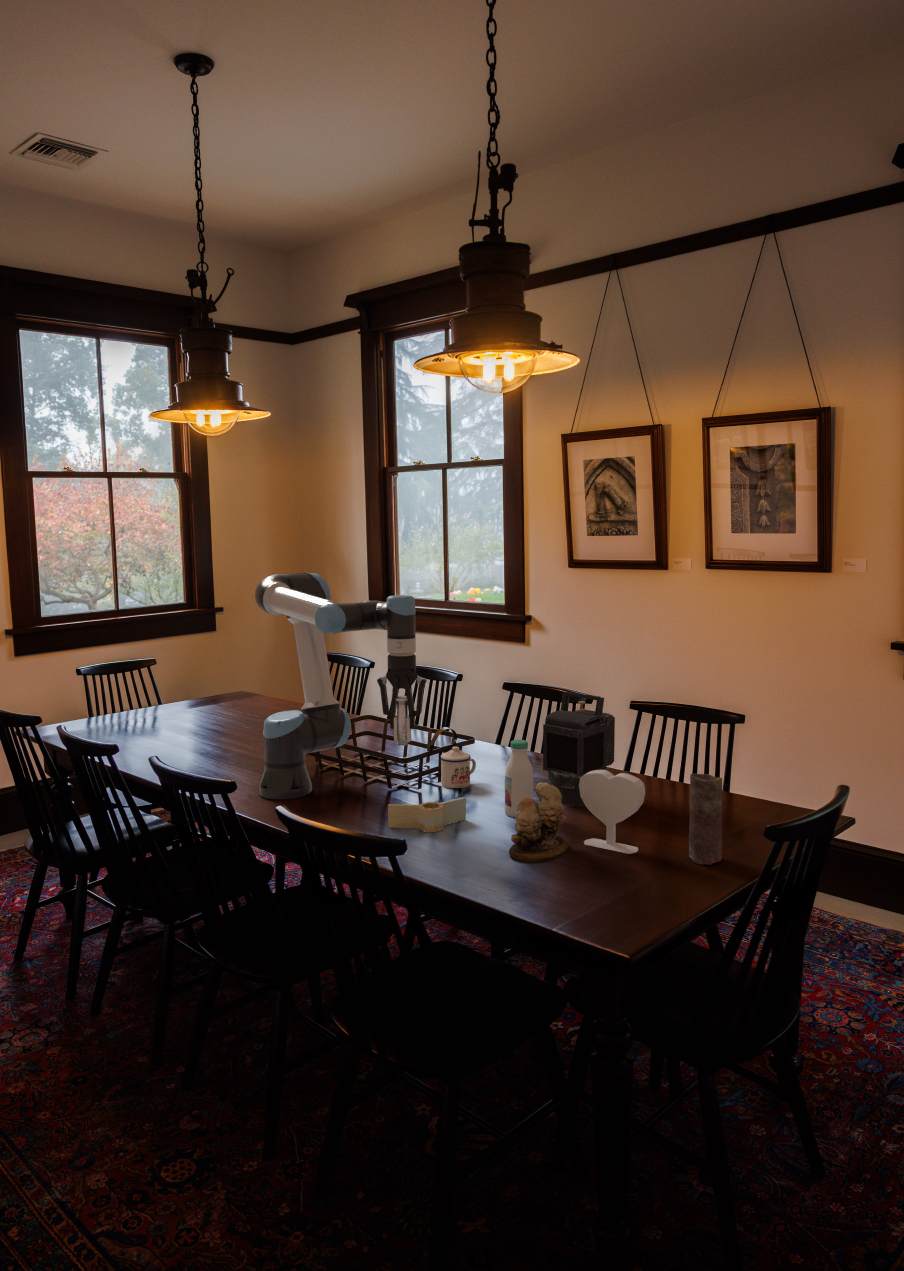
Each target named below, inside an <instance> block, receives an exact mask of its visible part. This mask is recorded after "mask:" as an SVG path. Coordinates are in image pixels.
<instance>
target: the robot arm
mask: <svg viewBox="0 0 904 1271" xmlns="http://www.w3.org/2000/svg"><path fill="white" fill-rule="evenodd" d="M331 596H332V595H331V589H330V587H329V584H328V583H327V580H326V579H325V578H324V577H323V576H322V575H320V574H319V573H316V572H314V573H313V572H311V573H310V572H301V573H300V572H299V573H283V574H280V573H276V574H271V575H268V576H266V577H264V578H262V579H261V580H260V582H259V583H258V584H257V586H256V588H255V590H254V599H255V603H256V605H257V606H258V607H259V609H260V610H262V611H263V612H265V613H268V614H270V615H273V616H280V615H284V616H286V620H287V621H289V622H290V623H291V624H292V625H293V632H294V637H295V645H296V651H297V656H298V657H297V658H298V663H299V664H298V665H299V670H300V678H301V683H302V690H303V697H304V704H303V705H302V707H301V708H300V709H301V710H298V709H297V710H294V709H293V710H284V711H279V712H275V713H272V714H271V715H269V716H267V717H266V718H265V719H264V722H263V732H262V736H263V749H264V750H263V751H264V754H263V755H264V770H263V773H262V775H261V776H262V777H261V779H260V783H259V795H260V797H262V798H264V799H268V800H269V799H270V800H281V801H282V800H292V799H299V798H303V797H305V796H307V795H310V794H311V793H312V791H313V787H312V786H313V785H312V780H311V778H310V775H309V772H308V770H307V766H306V754H311V753H317V752H321V751H326V750H334V749H335V748H338V747H342V746H343V745H345V744H346V743H347V741H348V739H349V737H350V734H351V731H352V730H351V728H352V724H351V717H350V715H349V714H348V711H347V710H346V709H344V708H342V707H341V704H340V701H339V700H337V699H336V698H335V697H334V694H333V687H332V686H333V685H332V680H331V673H330V667H329V660H328V655H327V647H326V642H325V636H324V634H333V635H336V634H339V633H347V632H348V633H349V632H357V631H368V630H385V631H386V633H387V635H386V636H387V638H386V639H387V640H386V641H387V643H386V644H387V645H386V648H387V650H386V652H387V653H388V655H387V670H386V673H385V675H384V676H382V677H381V676H380V677H379V678H377V679H376V682H377V684H378V686H379V690H380V691H379V692H380V697H381V705H382V706H381V707H382V713H383V715H385V716H388V717H389V727H390V729H391V730H392V729H393V742H396V743H398V735H397V701H396V700H395V698H397V697H398V696H399V691H400V689H402V690H403V689H404V692H405V696H406V697H407V704H408V717H407V742H408V743H410V742H411V741H412V730H414V729H415V728H416V717H417V716H420V715H421V714H422V712H423V702H424V693H425V692H424V691H425V685H426V683H427V681H428V679H427V678H426V677H422V676H420V675H419V674H418V672H417V655H416V654H414V653H416V652H417V642H416V638H417V637H416V630H417V629H416V628H417V627H416V621H417V620H416V613H417V610H416V602H415V600H416V599H415V598H414V596H412V595H409V594H408V595H405V594H402V595H401V594H399V595H398V594H396V595H394V594H393V595H389V596H388V597H387V598H386V601H382V600H376V599H373V600H370V599H369V600H365V601H361V602H350V603H349V602H348V603H346V602H344V603H343V602H342V603H340V602H336V601H333V600H331ZM415 682H417V685H418V688H417V696H416V707H415V704H414V703H415V702H414V696H413V688H412V686H413V685H414V683H415ZM387 683H390V685H391V686H392V691H391V692H392V694H391V701H390V706H389V698H388V689H387ZM389 707H390V709H389ZM415 708H416V709H415Z"/></svg>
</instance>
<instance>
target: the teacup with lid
mask: <svg viewBox="0 0 904 1271" xmlns="http://www.w3.org/2000/svg"><path fill="white" fill-rule="evenodd" d="M471 763H472V765H471ZM440 764H441V765H440V767H441V768H440V769H441V773H440V774H441V777H440V779H441V782H440V783H441V786H442V787H444V788H446V789H450V788H461V789H465V787H466V788H468V787H469V786H470V785H471V775H472V774H473V773H474V772H475V770H476V768H477V766H476V765H477V762H476V760H475V759H474V758H472V757H471V755H470V754H469V753H468V752H464V751H463V750H461V749H460V748H459V746H452V748H451V749H450V750H448V751H447V752H443V753H442V754H441V755H440Z"/></svg>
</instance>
